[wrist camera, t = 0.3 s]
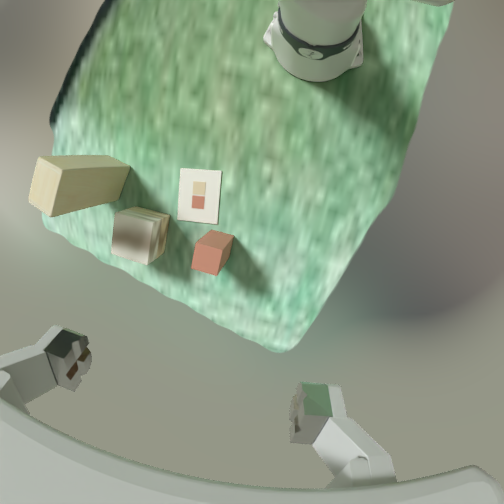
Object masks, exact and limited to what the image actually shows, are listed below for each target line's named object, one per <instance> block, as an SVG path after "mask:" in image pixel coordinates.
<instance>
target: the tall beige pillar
mask: <svg viewBox="0 0 504 504" xmlns="http://www.w3.org/2000/svg"><path fill="white" fill-rule="evenodd" d="M129 170H130V166H129V165H127V164H125V163H123V162H121V161H119V160H117V159H115V158H113V157H111V156H108V155H66V156H40V157H39V158H38V160H37V164H36V168H35V172H34V176H33V180H32V185H31V189H30V193H29V199H28V202H29V203H31V204H32V205H33V206H35V207H36V208H38V209H39V210H41V211H42V212H43V213H45V214H46V215H48V216H49V217H55V216H59V215H62V214H66V213H70V212H73V211H77V210H81V209H85V208H89V207H93V206H97V205H101V204H105V203H109V202H113V201H117V200H118V199H119V197H120V194H121V191H122V189H123V186H124V183H125V180H126V178H127V175H128V173H129Z"/></svg>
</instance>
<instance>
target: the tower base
mask: <svg viewBox="0 0 504 504" xmlns="http://www.w3.org/2000/svg"><path fill="white" fill-rule="evenodd" d="M169 219H170V215H168V214H164V213H160V212H157V211H153V210H149V209H145V208H141V207H137V206H135V207H131V208H128V209H125V210H122V211H119V212H116V213H115V218H114V227H113V237H112V249H111V254H114V255H117V256H120V257H123V258H126V259H129V260H132V261H135V262H138V263H141V264H145V265H148V264H150V263H151V262H152V261H154V260H155V259H156V258H158V257H159V256H161V255H162V254H163V253H164V251H165V244H166V238H167V231H168V225H169Z"/></svg>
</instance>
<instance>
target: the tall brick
mask: <svg viewBox="0 0 504 504" xmlns="http://www.w3.org/2000/svg"><path fill="white" fill-rule="evenodd" d="M233 238H234V235H230V234H226V233H222V232H219V231H215V230H210V231H209V232H208V233H207V234H206V235H204V236H203V237H202V238H201V239H200V240H198V241H197V242H196V244H195V249H194V254H193V260H192V265H191V269H195V270H198V271H202V272H205V273H209V274H212V275H216V276H217V275H218V274H219V272H220V271H221V269H222V268H223V266H224V264H225V263H226V261H227V260H228V258H229V256H230V251H231V247H232V243H233Z"/></svg>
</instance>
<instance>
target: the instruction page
mask: <svg viewBox="0 0 504 504" xmlns="http://www.w3.org/2000/svg"><path fill="white" fill-rule="evenodd" d="M221 174H222V171H215V170H201V169H186V168H181V169H180V183H179V199H178V219H177V220H184V221H193V222H202V223H211V224H217V223H218V210H219V197H220V186H221Z"/></svg>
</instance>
